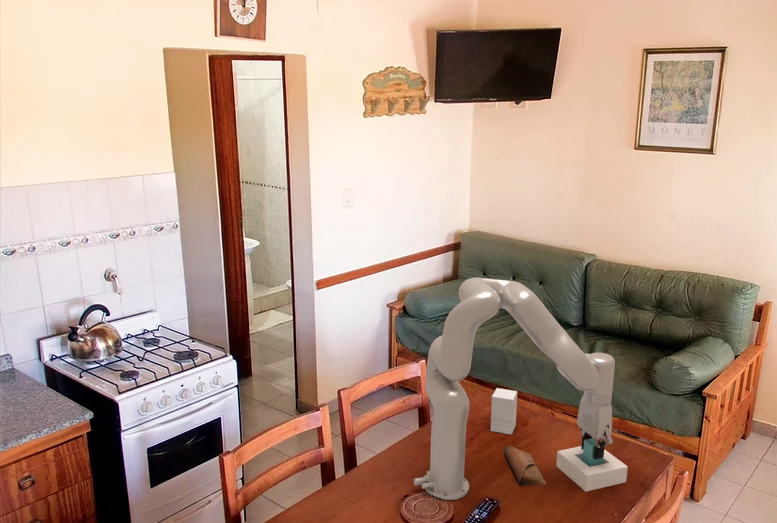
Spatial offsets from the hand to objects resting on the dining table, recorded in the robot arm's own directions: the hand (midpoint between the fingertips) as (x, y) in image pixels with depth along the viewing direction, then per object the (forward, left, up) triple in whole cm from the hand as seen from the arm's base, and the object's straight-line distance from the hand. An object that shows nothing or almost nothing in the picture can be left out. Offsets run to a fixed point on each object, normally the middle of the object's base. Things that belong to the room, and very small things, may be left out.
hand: (592, 453), depth 187 cm
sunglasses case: (-17, +9, -8) cm, 20 cm away
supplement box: (-10, +33, -7) cm, 35 cm away
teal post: (0, 0, -5) cm, 5 cm away
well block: (0, 0, -7) cm, 7 cm away
